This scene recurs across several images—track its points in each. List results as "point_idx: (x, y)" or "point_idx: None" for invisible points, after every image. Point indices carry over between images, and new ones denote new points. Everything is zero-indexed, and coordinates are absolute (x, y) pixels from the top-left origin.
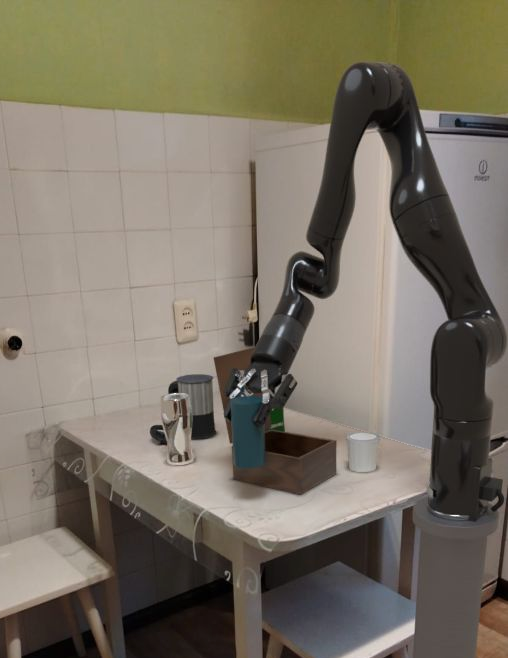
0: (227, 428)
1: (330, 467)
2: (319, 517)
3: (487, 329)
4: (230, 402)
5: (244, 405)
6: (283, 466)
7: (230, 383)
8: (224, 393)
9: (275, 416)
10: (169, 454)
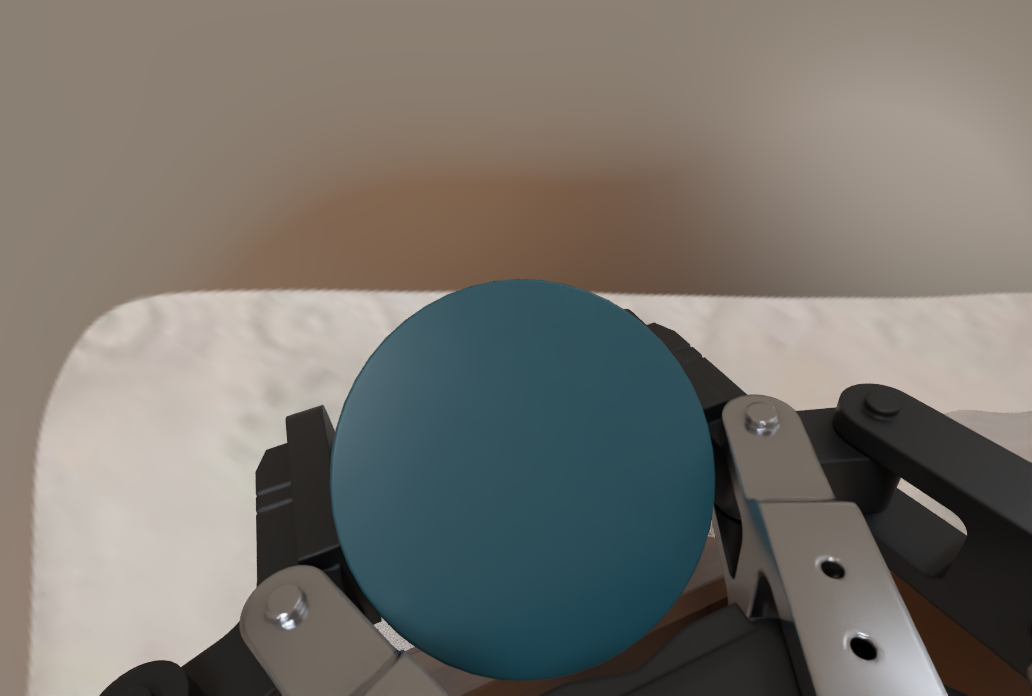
0: None
1: None
2: (111, 594)
3: None
4: (598, 300)
5: (387, 338)
6: (451, 675)
7: (992, 487)
8: (870, 387)
9: None
10: (995, 413)
